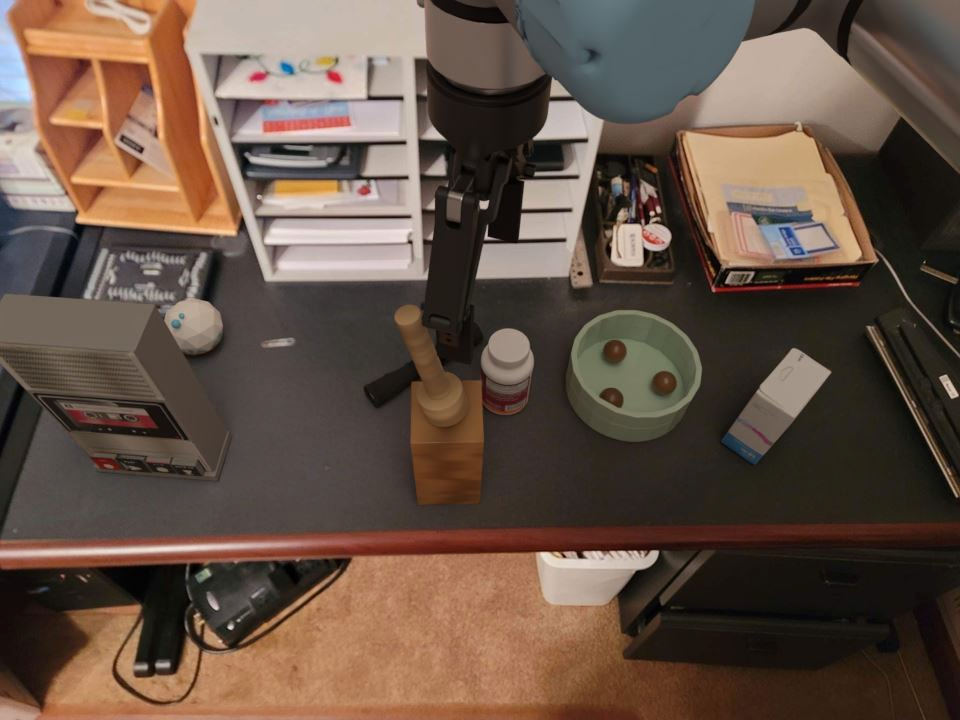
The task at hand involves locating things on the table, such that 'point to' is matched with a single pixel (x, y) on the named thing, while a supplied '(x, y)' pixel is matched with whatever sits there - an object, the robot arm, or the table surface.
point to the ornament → (194, 326)
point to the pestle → (431, 372)
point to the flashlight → (401, 377)
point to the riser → (448, 452)
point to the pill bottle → (506, 372)
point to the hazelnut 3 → (664, 383)
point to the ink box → (775, 405)
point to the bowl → (632, 375)
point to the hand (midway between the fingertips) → (480, 293)
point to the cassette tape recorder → (114, 384)
